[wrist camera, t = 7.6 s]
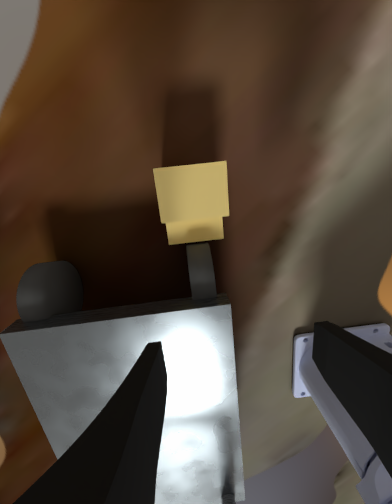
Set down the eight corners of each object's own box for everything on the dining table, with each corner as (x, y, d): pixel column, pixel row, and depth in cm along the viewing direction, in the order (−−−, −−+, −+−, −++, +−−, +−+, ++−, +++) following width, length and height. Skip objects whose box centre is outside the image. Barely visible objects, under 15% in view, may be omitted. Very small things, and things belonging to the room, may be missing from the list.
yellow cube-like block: (213, 168, 16) (226, 160, 12) (218, 231, 18) (231, 248, 13) (161, 173, 16) (153, 168, 12) (170, 237, 18) (166, 255, 13)
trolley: (213, 234, 18) (362, 483, 3) (231, 430, 25) (301, 794, 10) (44, 255, 18) (-724, 642, 3) (111, 447, 25) (0, 846, 10)
